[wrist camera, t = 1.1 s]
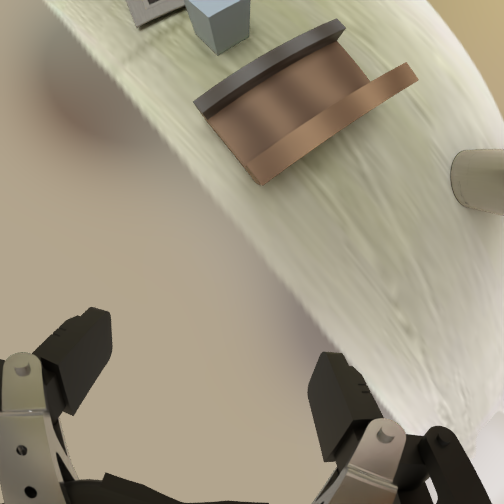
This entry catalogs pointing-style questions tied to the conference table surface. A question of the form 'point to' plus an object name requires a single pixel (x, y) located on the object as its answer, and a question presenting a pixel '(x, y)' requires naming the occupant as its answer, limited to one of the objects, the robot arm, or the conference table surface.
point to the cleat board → (294, 100)
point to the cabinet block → (220, 22)
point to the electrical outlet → (151, 9)
